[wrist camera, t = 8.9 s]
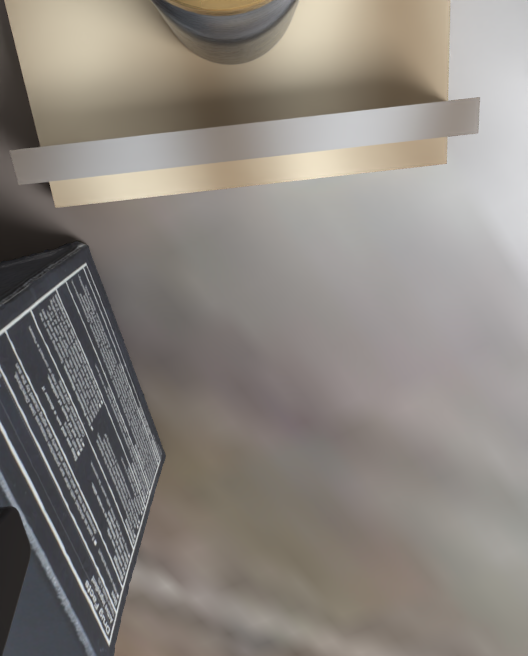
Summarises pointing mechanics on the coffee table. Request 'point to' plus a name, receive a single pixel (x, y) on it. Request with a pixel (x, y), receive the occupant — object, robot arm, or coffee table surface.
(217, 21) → the cell
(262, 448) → the coffee table surface
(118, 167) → the cradle
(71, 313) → the small box
